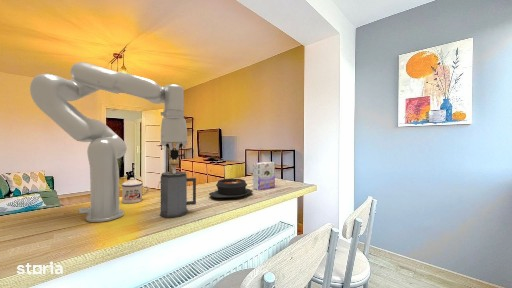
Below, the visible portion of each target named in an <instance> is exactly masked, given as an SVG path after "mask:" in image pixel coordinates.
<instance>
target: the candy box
mask: <svg viewBox="0 0 512 288" xmlns="http://www.w3.org/2000/svg"><path fill="white" fill-rule="evenodd" d="M275 166H276V163H275V162H274V161H263V162H262V161H261V162H260V161H259V162H253V164H252V173H253V174H252V189H253V190H255V191H262V189H263V190H267V189H273V187H274V188H275V187H276V180H275V178H276V177H275V176H276V175H275V174H276V167H275Z"/></svg>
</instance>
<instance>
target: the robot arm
mask: <svg viewBox="0 0 512 288" xmlns="http://www.w3.org/2000/svg"><path fill="white" fill-rule="evenodd" d="M70 75H71V77H72V78H71V79H67V78H64V77H62V76H59V75H55V74H52V73H39V74H37V75H35V76H34V77H33V78H32V80H31V83H30V86H29V92H30V96H31V99H32V101H33V102H34V104H35V105H36V107H37V108H39V110H41V112H43V114H45V115H46V116H47V117H49V118H50V119H51V120H52V121H53V122H54V123H55V124H56V125H57V126H59V127H60V128H61V129H62V130H63V131H64V132H65V133H66V134H67V135H69V136H70V137H71V138H72V139H73V140H75V141H77V142H81V143H89V145H88V147H87V150H86V151H87V158H88V163H89V177H90V178H89V179H90V181H89V182H90V186H89V189H90V206H88V207H80V208H78V213H79V214H80V215H82V214H83V215H84V214H86V216H85V221H86V222H89V223H102V222H109V221H112V220H116V219H119V218H121V217H122V216H123V215H124V214H125V213H124V211H125V210H122V209H121V208H120V169H119V164H118V163H119V162H118V159H121V158H122V157H123V156H125V155H126V153H127V144H126V143H125V141H124V140H123V139H122V138H121V137H120V136H119V135H118V134H117V133H116V132H114V130H112V128H110V127H109V126H108V125H106V124H105V123H104V122H103V121H100V120H98V119H95V118H90V117H87V116H85V115H84V114H83V113H82V112H81V111H80V110H78V109H77V108H76V106H74V105H73V104H72V103H70V102H74V101H78V100H80V99H83V98H84V97H86V96H89V95H91V94H94V93H96V92H98V91H99V90H100V91H105V92H109V93H112V94H116V95H117V94H126V95H130V96H133V97H136V98H137V97H138V98H141V99H144V100H147V101H149V102H150V103H153V104H164V105H163V107H164V110H163V112H160V116H161V117H162V116H163V118H161V124H160V126H161V128H160V146H164V147H167V149H169V150H170V159H172V160H174V159H175V160H177V159H179V150H180V149H181V148H182V147H186V146H188V145H189V144H188V125H187V120H186V118H184V117H185V116H184V115H185V114H184V113H185V112H184V111H185V109H184V106H185V105H184V101H185V100H184V99H185V97H184V93H185V92H184V87H183V86H182V85H179V84H175V83H174V84H172V83H171V84H166V85H164V86H161V85H160V84H159V83H157V82H156V81H155V80H152V79H149V78H145V77H141V76H138V75H135V74H130V73H125V72H119V71H116V70H113V69H109V68H105V67H102V66H98V65H96V64H91V63H88V62H82V61H80V62H76V63H74V64H73V65H71V68H70ZM174 143H176V144H175V148H174Z"/></svg>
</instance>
